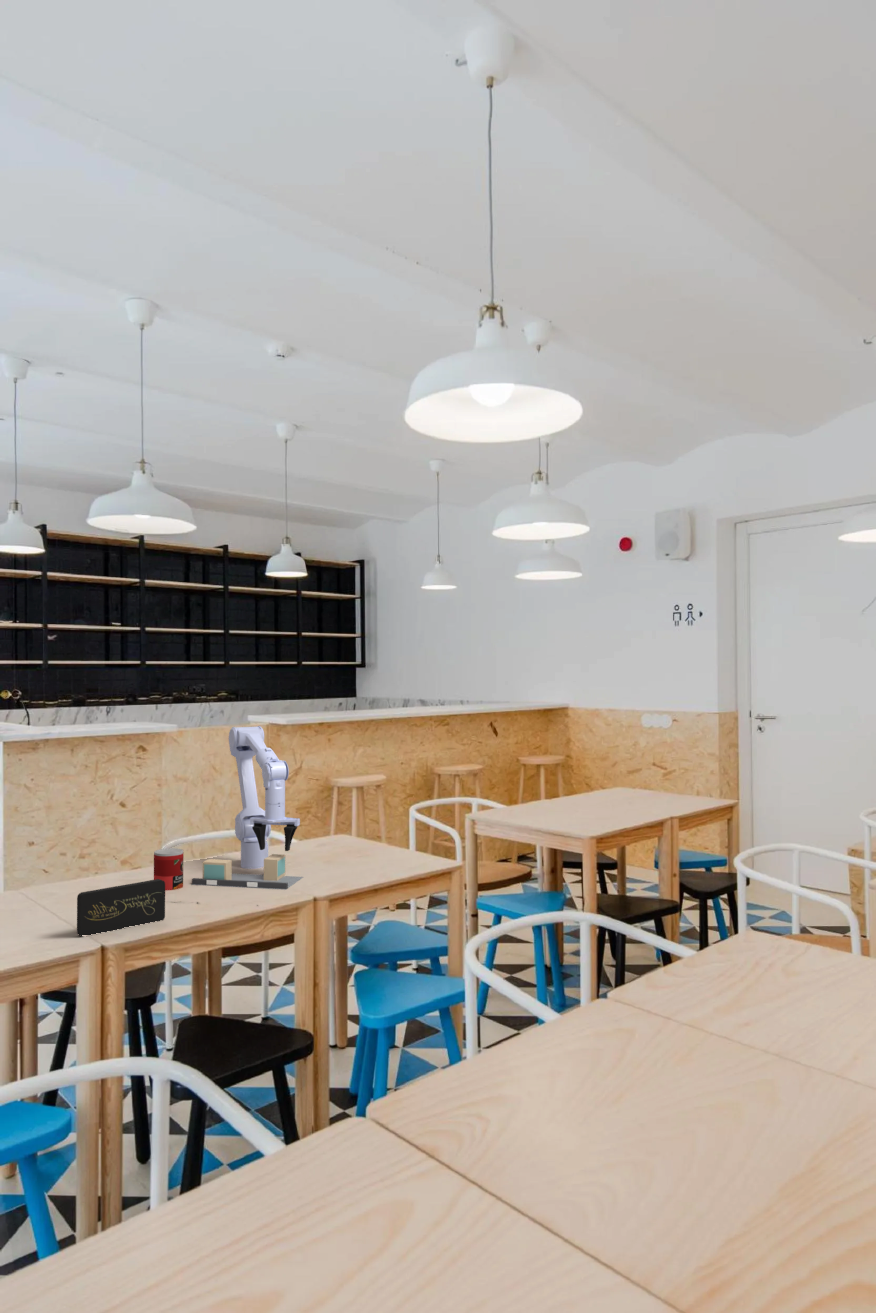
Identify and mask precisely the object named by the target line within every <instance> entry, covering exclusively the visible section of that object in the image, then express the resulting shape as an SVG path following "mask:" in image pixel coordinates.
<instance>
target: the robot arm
mask: <svg viewBox="0 0 876 1313" xmlns="http://www.w3.org/2000/svg"><path fill="white" fill-rule="evenodd" d="M228 744H229V750H230V751H229V752H230V755H231V756H232V757H234V758H235V761H236V766H237V774H238V782H239V788H240V796H241V798H240V799H241V803H242V809H241V811H239V812H238V814H236V816H235V818H234V823H235V824H234V825H235V826H234V834H235V836H236V838H237V840H239V841H240V868H242V869H247V870H251V869H254V870H255V869H261V868H264V859H265V858H267V857H269V844H268V842H267V841H268V840H267V839H268V837H269V836H270V834H271V831H272V826H284V827H283V832H284V851H285V852H289V851H290V850H291V845H292V841H293V837H294V835H295V833H296V831H297V829H298V827H299V826H300V825H301V818H299V817H297V818H295V817H287V816H286V781H288V779H289V775H290V774H289V773H290V771H289V765H288V763H287V761H286V760H281V759H279V757H278V756H277V754H276V753H275V751H274V750H273V749H272V748H271V747H267V745H266V743H265V731H264V728H263V727H262V726H261V725H258V726H257V725H256V726H239V727H237V726H232V727H231V728H230V730H229V732H228ZM254 756H255V761H256V763H257V765H258V766H259V767H260V769H261V775H262V781H263V782H262V783H263V787H264V792H265V793H264V795H265V796H264V799H265V800H264V809H263V808H262V807H260V805H259V798H258V791H257V783H256V777H255V776H256V775H255V770H254V762H253V757H254Z"/></svg>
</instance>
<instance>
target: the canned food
mask: <svg viewBox="0 0 876 1313" xmlns="http://www.w3.org/2000/svg"><path fill="white" fill-rule="evenodd" d="M184 859H185V858H184V850H183V849H182V848H173V847H172V848H170V847H169V848H168V847H167V848H161V849H160V848H159V849H156V850H154V851H153V880H155V879H160V880H163V881H164V882H165V892H167V891H176V890H179V889H182V888H184Z"/></svg>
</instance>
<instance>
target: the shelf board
mask: <svg viewBox="0 0 876 1313" xmlns="http://www.w3.org/2000/svg"><path fill="white" fill-rule="evenodd" d="M303 878H304V876H293V875H285V876H283V877H282V878H280V879H279V880H277V881H271V880H264V874H253V873H252V874H250V873H234V872H232V880H222V879H202V878H199V877H196V878H195V877H194V878H193V877H192V878H191V886H206V887H209V886H210V887H228V888H244V889H245V888H246V889H262V890H263V889H265V890H284V891H285V890H288V889H289V888H291V887H292V886H293V885H295V884H296V883H298V882H299V881H301V880H302V879H303Z"/></svg>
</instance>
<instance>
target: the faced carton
mask: <svg viewBox="0 0 876 1313" xmlns="http://www.w3.org/2000/svg"><path fill="white" fill-rule="evenodd" d="M232 866H233V861H232V859H217V858H216V859H214V858H213V859H211V858H208V859H206V860H204V861H203V862H202V878H201V879H222V880H232V873H233V872H232V870H233V868H232Z"/></svg>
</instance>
